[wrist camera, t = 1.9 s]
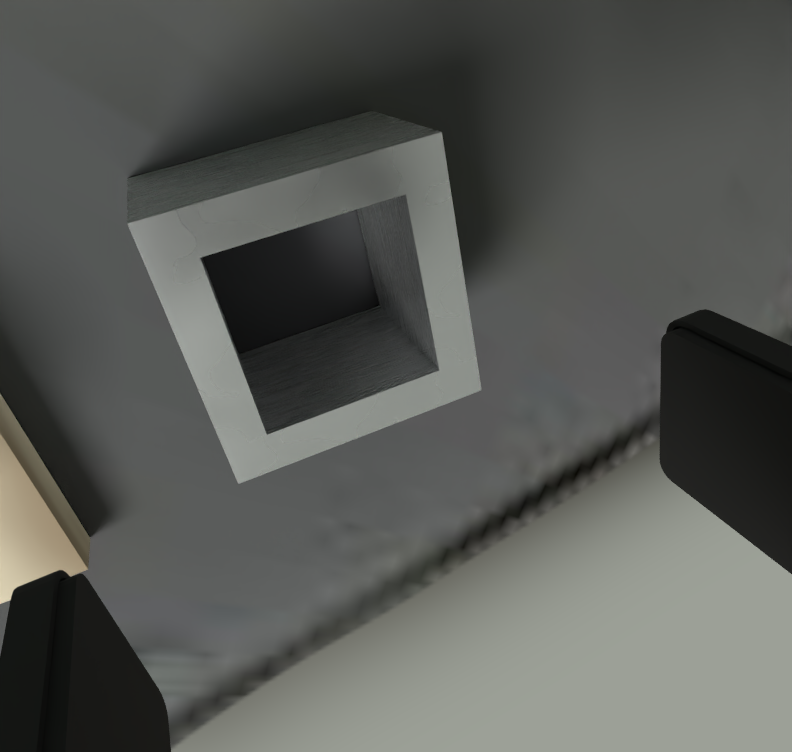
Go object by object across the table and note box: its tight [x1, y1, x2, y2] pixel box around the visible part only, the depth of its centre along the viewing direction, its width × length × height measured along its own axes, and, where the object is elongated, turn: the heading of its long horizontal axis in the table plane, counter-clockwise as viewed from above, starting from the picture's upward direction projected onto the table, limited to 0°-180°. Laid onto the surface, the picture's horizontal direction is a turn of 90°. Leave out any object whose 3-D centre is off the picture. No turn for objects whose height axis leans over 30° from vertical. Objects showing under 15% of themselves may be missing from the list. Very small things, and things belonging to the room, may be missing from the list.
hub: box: [127, 111, 481, 484], centre depth 18 cm, size 7×7×5 cm
